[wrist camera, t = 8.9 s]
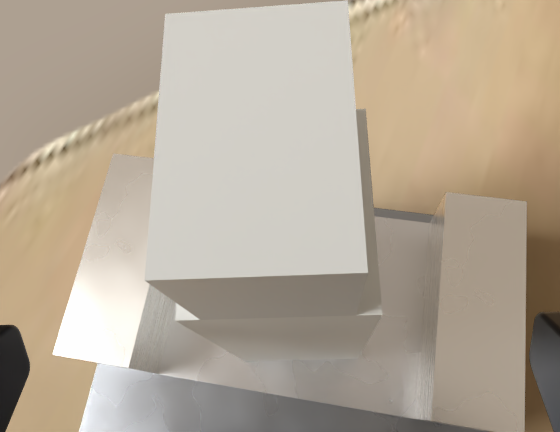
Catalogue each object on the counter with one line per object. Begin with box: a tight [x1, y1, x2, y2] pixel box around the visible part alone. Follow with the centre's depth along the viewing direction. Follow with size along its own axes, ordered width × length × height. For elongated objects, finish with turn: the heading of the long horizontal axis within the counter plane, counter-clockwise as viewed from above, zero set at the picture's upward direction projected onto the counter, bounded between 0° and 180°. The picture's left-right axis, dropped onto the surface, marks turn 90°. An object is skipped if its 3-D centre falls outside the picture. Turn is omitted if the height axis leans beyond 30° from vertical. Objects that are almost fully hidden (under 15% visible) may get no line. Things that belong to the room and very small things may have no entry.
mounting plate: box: [53, 154, 527, 432], centre depth 18 cm, size 10×14×4 cm
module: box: [145, 0, 382, 361], centre depth 14 cm, size 5×4×12 cm
